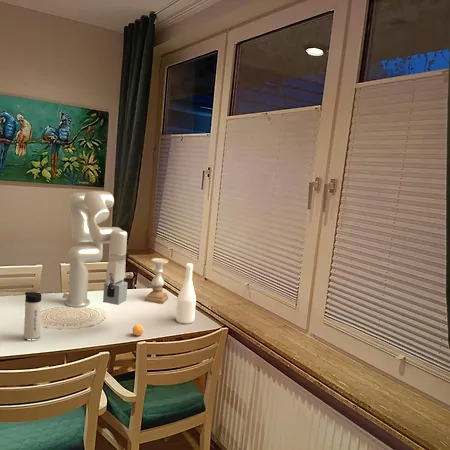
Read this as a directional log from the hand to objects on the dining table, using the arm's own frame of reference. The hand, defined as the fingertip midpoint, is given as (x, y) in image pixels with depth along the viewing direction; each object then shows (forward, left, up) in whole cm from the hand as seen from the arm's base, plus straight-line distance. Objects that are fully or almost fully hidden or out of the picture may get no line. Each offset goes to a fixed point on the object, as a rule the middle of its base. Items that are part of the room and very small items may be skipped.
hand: (115, 294), depth 200 cm
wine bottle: (+26, +28, -18) cm, 42 cm away
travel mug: (-25, -24, -18) cm, 39 cm away
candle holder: (0, +52, -18) cm, 55 cm away
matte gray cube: (0, 0, -3) cm, 3 cm away
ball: (+13, 0, -15) cm, 19 cm away
